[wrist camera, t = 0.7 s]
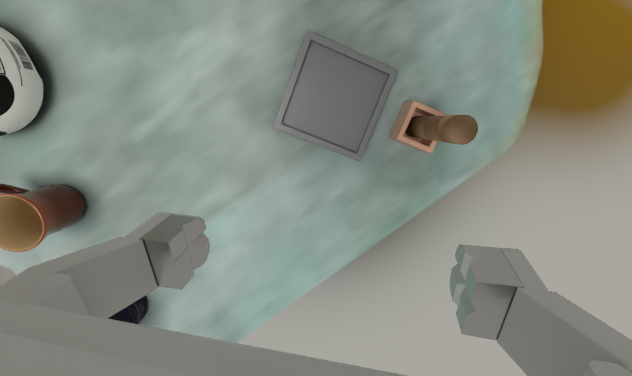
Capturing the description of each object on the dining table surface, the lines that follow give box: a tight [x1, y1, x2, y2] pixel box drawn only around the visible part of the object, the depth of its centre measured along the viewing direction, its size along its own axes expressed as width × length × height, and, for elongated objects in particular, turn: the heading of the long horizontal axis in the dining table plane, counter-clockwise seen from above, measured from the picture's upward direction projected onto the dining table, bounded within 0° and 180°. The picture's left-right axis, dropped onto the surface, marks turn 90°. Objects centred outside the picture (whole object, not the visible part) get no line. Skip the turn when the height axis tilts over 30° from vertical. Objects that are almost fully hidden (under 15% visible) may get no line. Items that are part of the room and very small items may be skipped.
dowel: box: [405, 115, 478, 145], centre depth 44 cm, size 4×4×16 cm
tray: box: [273, 30, 398, 161], centre depth 49 cm, size 16×16×2 cm
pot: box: [388, 100, 449, 153], centre depth 50 cm, size 7×7×4 cm
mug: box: [0, 184, 85, 252], centre depth 46 cm, size 12×9×10 cm
